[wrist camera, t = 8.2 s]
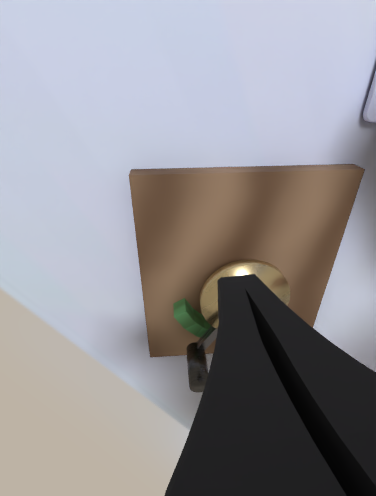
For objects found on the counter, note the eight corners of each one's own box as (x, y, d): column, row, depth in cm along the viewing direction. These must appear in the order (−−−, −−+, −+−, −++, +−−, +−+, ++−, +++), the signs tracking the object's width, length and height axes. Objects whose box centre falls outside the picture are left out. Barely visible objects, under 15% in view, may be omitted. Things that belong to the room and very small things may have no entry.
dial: (235, 244, 17) (248, 275, 14) (305, 282, 19) (328, 316, 16) (156, 341, 21) (155, 380, 18) (221, 364, 23) (228, 402, 20)
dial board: (353, 164, 18) (382, 177, 15) (300, 336, 26) (314, 362, 23) (131, 169, 17) (125, 184, 14) (150, 345, 25) (149, 373, 23)
